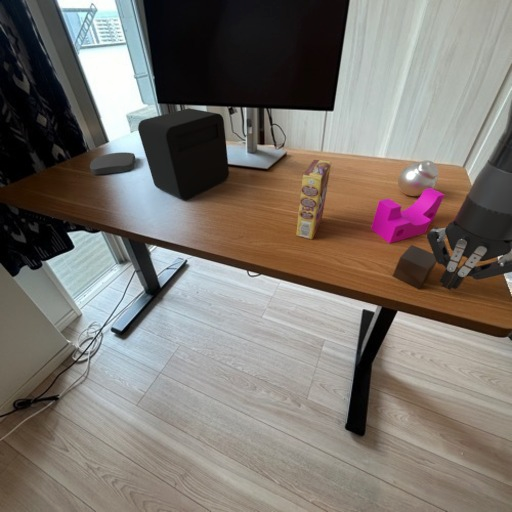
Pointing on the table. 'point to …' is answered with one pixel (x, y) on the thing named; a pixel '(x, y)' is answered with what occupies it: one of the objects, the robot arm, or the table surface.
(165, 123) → the air purifier
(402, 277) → the walnut cube
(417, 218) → the magenta curved bracket
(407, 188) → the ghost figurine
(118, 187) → the table surface
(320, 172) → the candy box
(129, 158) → the media streaming box
